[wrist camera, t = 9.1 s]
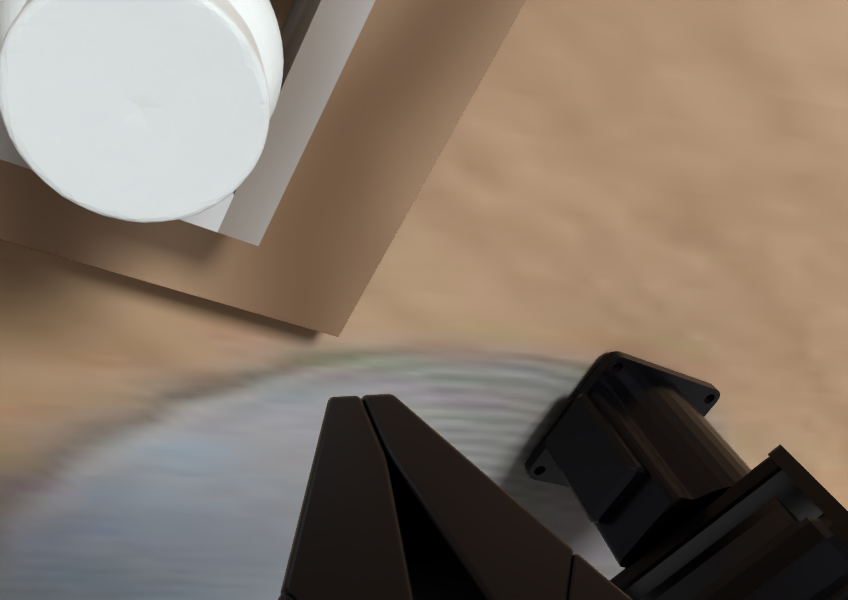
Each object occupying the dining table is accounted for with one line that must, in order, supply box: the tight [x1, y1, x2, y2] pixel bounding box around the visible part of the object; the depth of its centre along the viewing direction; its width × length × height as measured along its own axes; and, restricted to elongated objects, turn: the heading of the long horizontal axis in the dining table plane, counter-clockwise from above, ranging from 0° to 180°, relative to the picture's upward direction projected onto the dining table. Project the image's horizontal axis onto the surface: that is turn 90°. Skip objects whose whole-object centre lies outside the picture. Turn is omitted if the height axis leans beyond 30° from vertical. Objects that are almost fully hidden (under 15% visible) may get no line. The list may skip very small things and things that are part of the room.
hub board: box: [0, 0, 526, 337], centre depth 15 cm, size 16×14×4 cm
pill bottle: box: [0, 0, 284, 223], centre depth 13 cm, size 4×4×8 cm
